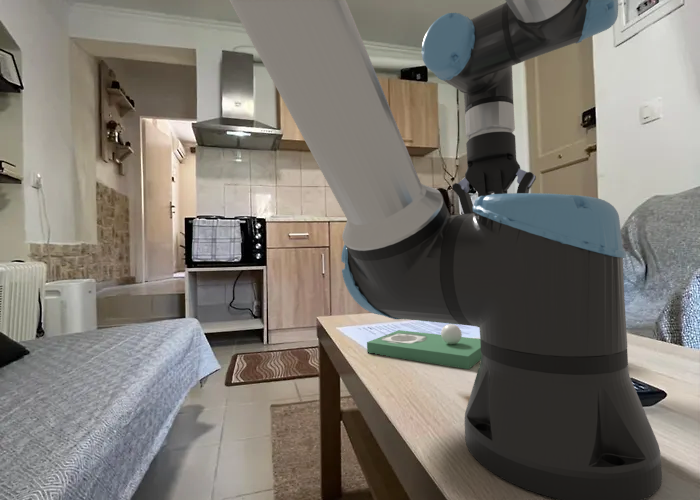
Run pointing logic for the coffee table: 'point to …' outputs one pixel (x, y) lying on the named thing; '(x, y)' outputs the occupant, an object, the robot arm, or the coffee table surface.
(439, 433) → the coffee table surface
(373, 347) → the putting strip
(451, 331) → the ball
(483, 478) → the coffee table surface
